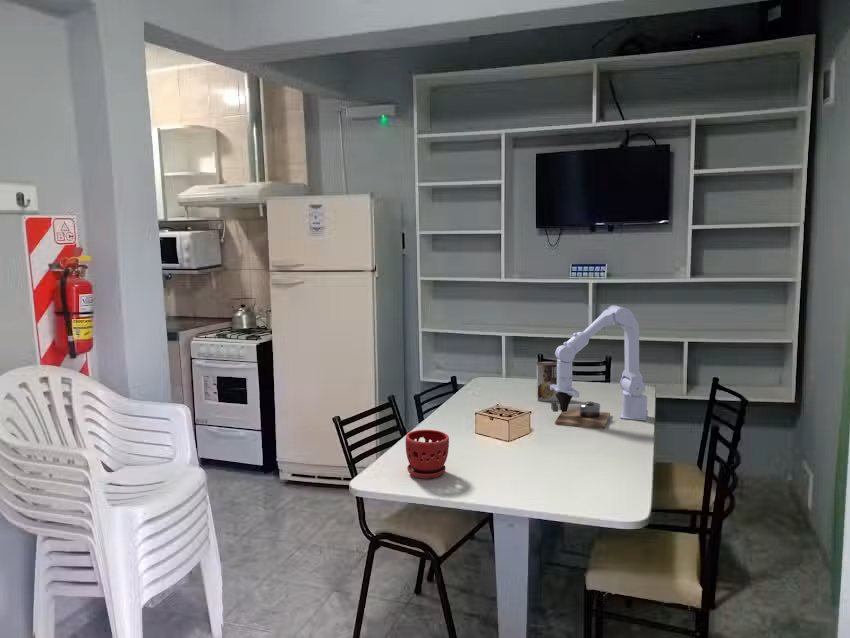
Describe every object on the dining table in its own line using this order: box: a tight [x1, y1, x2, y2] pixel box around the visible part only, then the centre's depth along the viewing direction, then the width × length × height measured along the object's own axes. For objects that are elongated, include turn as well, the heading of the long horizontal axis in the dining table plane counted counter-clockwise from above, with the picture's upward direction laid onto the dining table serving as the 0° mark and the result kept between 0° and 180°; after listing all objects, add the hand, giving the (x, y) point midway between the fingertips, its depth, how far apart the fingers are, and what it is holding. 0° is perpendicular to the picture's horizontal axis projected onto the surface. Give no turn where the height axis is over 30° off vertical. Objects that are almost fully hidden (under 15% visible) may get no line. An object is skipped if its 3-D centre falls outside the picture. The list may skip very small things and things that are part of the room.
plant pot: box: [405, 429, 450, 479], centre depth 188 cm, size 13×13×12 cm
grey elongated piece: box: [550, 401, 601, 417], centre depth 241 cm, size 18×8×5 cm, turn 88°
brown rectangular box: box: [536, 361, 559, 402], centre depth 269 cm, size 9×6×16 cm
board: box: [554, 410, 611, 430], centre depth 239 cm, size 18×18×1 cm
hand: (564, 411), depth 239 cm, fingers closed
